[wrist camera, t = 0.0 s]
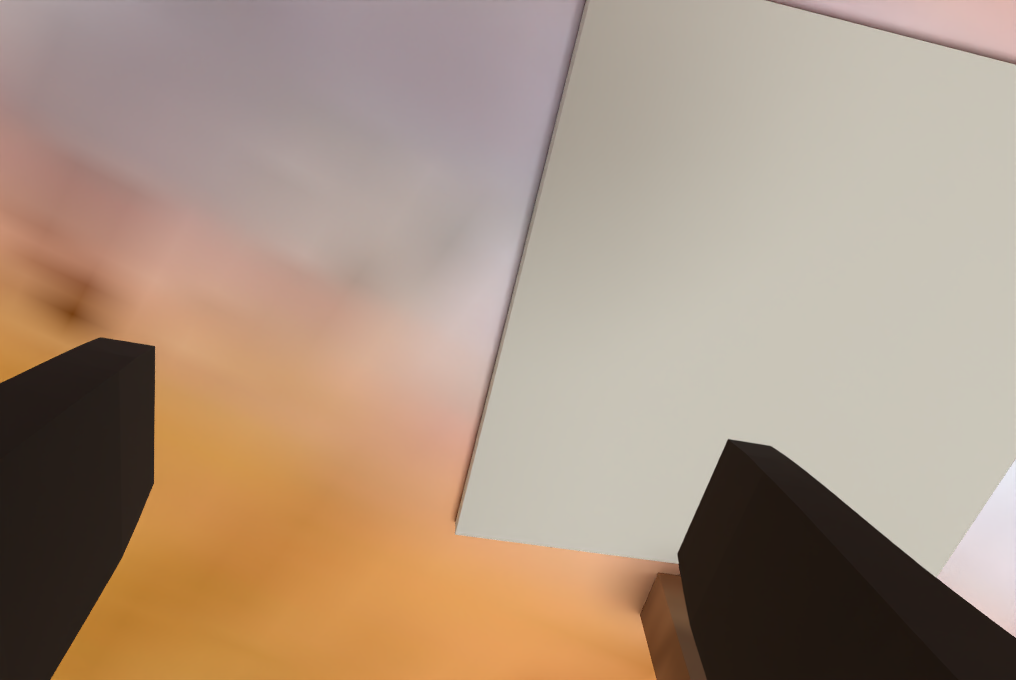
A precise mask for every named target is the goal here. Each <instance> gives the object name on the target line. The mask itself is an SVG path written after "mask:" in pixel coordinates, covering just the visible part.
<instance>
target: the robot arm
mask: <svg viewBox="0 0 1016 680" xmlns="http://www.w3.org/2000/svg"><path fill="white" fill-rule="evenodd" d="M154 406H155V346H150V345H144V344H138V343H132V342H126V341H120V340H113V339H107V338H101V337H100V338H98V339H95V340H92V341H90V342H87V343H85V344H83V345H80V346H78V347H76V348H74V349H71V350H69V351H67V352H65V353H63V354H61V355H59V356H56V357H54V358H52V359H50V360H48V361H46V362H44V363H42V364H40V365H38V366H35V367H33V368H31V369H29V370H27V371H25V372H23V373H21V374H19V375H17V376H15V377H13V378H11V379H8V380H6V381H4V382H2V383H0V680H50V679H51V677H52V676H53V674H54V672H55V671H56V669H57V667H58V666H59V664H60V662H61V661H62V659H63V657H64V656H65V654H66V652H67V651H68V649H69V647H70V646H71V644H72V642H73V641H74V639H75V637H76V635H77V634H78V632H79V630H80V629H81V627H82V625H83V624H84V622H85V620H86V619H87V617H88V615H89V614H90V612H91V610H92V608H93V607H94V605H95V603H96V602H97V600H98V598H99V596H100V595H101V593H102V591H103V590H104V588H105V586H106V584H107V583H108V581H109V579H110V578H111V576H112V574H113V572H114V571H115V569H116V567H117V565H118V564H119V562H120V560H121V558H122V557H123V554H124V552H125V550H126V548H127V545H128V543H129V541H130V538H131V536H132V534H133V532H134V529H135V527H136V525H137V523H138V520H139V518H140V515H141V513H142V510H143V508H144V506H145V503H146V501H147V498H148V496H149V493H150V491H151V489H152V486H153V484H154ZM677 556H678V562H679V568H680V574H681V580H682V587H683V593H684V598H685V603H686V608H687V613H688V618H689V623H690V627H691V631H692V634H693V637H694V640H695V644H696V647H697V650H698V653H699V656H700V660H701V663H702V666H703V669H704V672H705V675H706V678H707V680H1016V638H1015V637H1014V636H1012V635H1011V634H1010V633H1008V632H1007V631H1006V630H1004V629H1003V628H1001V627H1000V626H999V625H997V624H996V623H995V622H993V621H992V620H991V619H990V618H988V617H987V616H986V615H984V614H983V613H982V612H980V611H979V610H978V609H976V608H975V607H974V606H972V605H971V604H970V603H968V602H967V601H966V600H964V599H963V598H962V597H961V596H959V595H958V594H957V593H955V592H954V591H953V590H951V589H950V588H949V587H947V586H946V585H945V584H944V583H942V582H941V581H940V580H939V579H937V578H936V577H935V576H934V575H932V574H931V573H930V572H928V571H927V570H926V569H925V568H923V567H922V566H921V565H920V564H918V563H917V562H916V561H915V560H914V559H912V558H911V557H910V556H909V555H907V554H906V553H905V552H904V551H902V550H901V549H900V548H899V547H898V546H896V545H895V544H894V543H893V542H891V541H890V540H889V539H888V538H887V537H885V536H884V535H883V534H882V533H881V532H879V531H878V530H877V529H876V528H874V527H873V526H872V525H871V524H870V523H868V522H867V521H866V520H865V519H864V518H862V517H861V516H860V515H859V514H858V513H856V512H855V511H854V510H853V509H852V508H850V507H849V506H848V505H847V504H846V503H844V502H843V501H842V500H841V499H840V498H838V497H837V496H836V495H835V494H834V493H832V492H831V491H830V490H829V489H828V488H826V487H825V486H824V485H823V484H821V483H820V482H819V481H818V480H816V479H815V478H814V477H813V476H811V475H810V474H809V473H808V472H806V471H805V470H804V469H803V468H801V467H800V466H799V465H797V464H796V463H795V462H793V461H792V460H791V459H789V458H788V457H787V456H785V455H784V454H782V453H781V452H779V451H778V450H776V449H775V448H773V447H772V446H769V445H763V444H756V443H750V442H744V441H738V440H732V439H728V440H727V442H726V445H725V447H724V449H723V451H722V454H721V456H720V458H719V460H718V463H717V465H716V467H715V469H714V472H713V474H712V476H711V479H710V481H709V483H708V485H707V488H706V490H705V492H704V494H703V497H702V499H701V501H700V503H699V506H698V508H697V510H696V512H695V515H694V517H693V519H692V522H691V524H690V526H689V528H688V531H687V533H686V535H685V537H684V540H683V542H682V544H681V546H680V549H679V551H678V553H677Z"/></svg>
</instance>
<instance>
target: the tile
mask: <svg viewBox="0 0 1016 680" xmlns="http://www.w3.org/2000/svg"><path fill="white" fill-rule="evenodd" d="M640 617H641V620H642V624H643V628H644V632H645V636H646V640H647V644H648V648H649V651H650V655H651V659H652V663H653V667H654V671H655V675H656V678H657V680H707V678H706V675H705V672H704V669H703V666H702V663H701V660H700V656H699V653H698V650H697V647H696V644H695V640H694V637H693V634H692V631H691V627H690V623H689V618H688V613H687V608H686V603H685V598H684V593H683V587H682V580H681V576H679V575H671V574H664V573H658V575H657V577H656V579H655V581H654V584H653V586H652V588H651V591H650V593H649V595H648V598H647V600H646V602H645V605H644V607H643V609H642V612H641V614H640Z"/></svg>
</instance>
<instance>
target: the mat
mask: <svg viewBox="0 0 1016 680" xmlns="http://www.w3.org/2000/svg"><path fill="white" fill-rule="evenodd" d="M728 439H732V440H738V441H744V442H750V443H756V444H763V445H769V446H772V447H773V448H775V449H776V450H778V451H779V452H781V453H782V454H784V455H785V456H787V457H788V458H789V459H791V460H792V461H793V462H795V463H796V464H797V465H799V466H800V467H801V468H803V469H804V470H805V471H806V472H808V473H809V474H810V475H811V476H813V477H814V478H815V479H816V480H818V481H819V482H820V483H821V484H823V485H824V486H825V487H826V488H828V489H829V490H830V491H831V492H832V493H834V494H835V495H836V496H837V497H838V498H840V499H841V500H842V501H843V502H844V503H846V504H847V505H848V506H849V507H850V508H852V509H853V510H854V511H855V512H856V513H858V514H859V515H860V516H861V517H862V518H864V519H865V520H866V521H867V522H868V523H870V524H871V525H872V526H873V527H874V528H876V529H877V530H878V531H879V532H881V533H882V534H883V535H884V536H885V537H887V538H888V539H889V540H890V541H891V542H893V543H894V544H895V545H896V546H898V547H899V548H900V549H901V550H902V551H904V552H905V553H906V554H907V555H909V556H910V557H911V558H912V559H914V560H915V561H916V562H917V563H918V564H920V565H921V566H922V567H923V568H925V569H926V570H927V571H928V572H930V573H931V574H932V575H934V576H935V577H936V578H937V576H938V575H939V573H940V572H941V570H942V569H943V567H944V566H945V564H946V563H947V561H948V560H949V558H950V557H951V555H952V554H953V552H954V551H955V549H956V548H957V546H958V545H959V543H960V542H961V540H962V539H963V537H964V536H965V534H966V533H967V531H968V530H969V528H970V527H971V525H972V524H973V522H974V521H975V519H976V518H977V516H978V515H979V513H980V512H981V510H982V509H983V507H984V506H985V504H986V503H987V501H988V500H989V498H990V497H991V495H992V494H993V492H994V491H995V489H996V488H997V486H998V485H999V483H1000V482H1001V480H1002V479H1003V477H1004V476H1005V474H1006V473H1007V471H1008V470H1009V468H1010V467H1011V465H1012V464H1013V462H1014V461H1015V459H1016V65H1015V64H1011V63H1007V62H1003V61H999V60H995V59H992V58H988V57H984V56H980V55H976V54H972V53H968V52H964V51H960V50H957V49H953V48H949V47H945V46H941V45H937V44H933V43H929V42H926V41H922V40H918V39H914V38H910V37H906V36H902V35H898V34H894V33H891V32H887V31H883V30H879V29H875V28H871V27H867V26H863V25H859V24H856V23H852V22H848V21H844V20H840V19H836V18H832V17H828V16H825V15H821V14H817V13H813V12H809V11H805V10H801V9H797V8H793V7H790V6H786V5H782V4H778V3H774V2H770V1H766V0H586V3H585V7H584V11H583V15H582V19H581V23H580V27H579V31H578V35H577V39H576V43H575V47H574V51H573V55H572V59H571V63H570V67H569V71H568V75H567V79H566V83H565V87H564V91H563V95H562V99H561V103H560V107H559V111H558V115H557V119H556V123H555V127H554V131H553V135H552V139H551V143H550V147H549V151H548V155H547V159H546V163H545V167H544V171H543V175H542V179H541V183H540V187H539V191H538V195H537V199H536V203H535V207H534V211H533V215H532V219H531V223H530V227H529V231H528V235H527V239H526V243H525V247H524V251H523V255H522V259H521V263H520V267H519V271H518V275H517V279H516V283H515V287H514V291H513V295H512V299H511V303H510V307H509V311H508V315H507V319H506V323H505V327H504V331H503V335H502V339H501V343H500V347H499V351H498V355H497V359H496V363H495V367H494V371H493V375H492V379H491V383H490V387H489V391H488V395H487V399H486V403H485V407H484V411H483V415H482V419H481V423H480V427H479V431H478V435H477V439H476V443H475V447H474V451H473V455H472V459H471V463H470V467H469V471H468V475H467V479H466V483H465V487H464V491H463V495H462V499H461V503H460V507H459V510H458V514H457V518H456V522H455V534H456V535H463V536H471V537H478V538H486V539H494V540H501V541H509V542H516V543H524V544H531V545H539V546H547V547H554V548H562V549H569V550H577V551H585V552H592V553H600V554H607V555H615V556H622V557H630V558H638V559H645V560H653V561H660V562H668V563H676V564H679V562H678V556H677V553H678V551H679V549H680V546H681V544H682V542H683V540H684V537H685V535H686V533H687V531H688V528H689V526H690V524H691V522H692V519H693V517H694V515H695V512H696V510H697V508H698V506H699V503H700V501H701V499H702V497H703V494H704V492H705V490H706V488H707V485H708V483H709V481H710V479H711V476H712V474H713V472H714V469H715V467H716V465H717V463H718V460H719V458H720V456H721V454H722V451H723V449H724V447H725V445H726V442H727V440H728Z"/></svg>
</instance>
